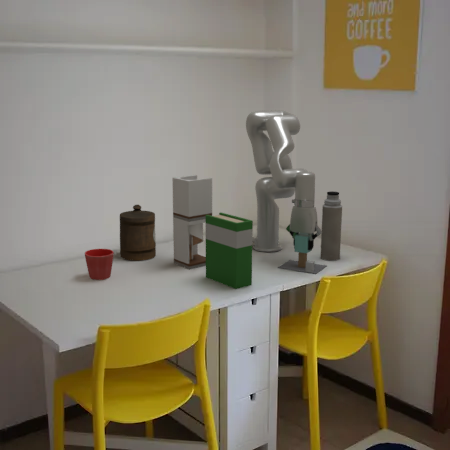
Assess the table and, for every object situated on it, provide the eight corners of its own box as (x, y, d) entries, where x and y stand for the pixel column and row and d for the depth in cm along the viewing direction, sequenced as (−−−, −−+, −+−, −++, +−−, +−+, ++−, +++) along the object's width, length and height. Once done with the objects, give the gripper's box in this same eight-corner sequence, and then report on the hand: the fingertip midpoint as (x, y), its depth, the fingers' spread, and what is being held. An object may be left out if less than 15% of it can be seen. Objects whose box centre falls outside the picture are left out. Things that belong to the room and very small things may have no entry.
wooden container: (163, 255, 265) (162, 204, 260) (136, 263, 254) (134, 210, 249) (140, 249, 275) (138, 200, 270) (113, 256, 264) (111, 205, 259)
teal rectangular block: (294, 251, 247) (294, 235, 246) (299, 248, 251) (300, 232, 250) (306, 253, 245) (307, 236, 243) (311, 250, 249) (312, 234, 248)
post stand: (277, 268, 249) (278, 250, 247) (289, 260, 259) (290, 243, 257) (315, 274, 241) (316, 256, 239) (326, 266, 251) (327, 249, 250)
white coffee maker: (189, 269, 246) (188, 181, 238) (173, 263, 254) (172, 177, 246) (212, 264, 253) (212, 178, 245) (196, 258, 261) (195, 174, 253)
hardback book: (205, 277, 237) (205, 215, 231) (220, 273, 241) (221, 212, 236) (236, 289, 224) (236, 223, 218) (251, 285, 228) (252, 220, 223)
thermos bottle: (320, 255, 267) (322, 190, 261) (339, 255, 266) (342, 190, 260) (320, 260, 259) (323, 193, 253) (340, 260, 259) (343, 193, 252)
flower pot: (120, 275, 239) (119, 250, 236) (101, 283, 229) (100, 257, 227) (99, 271, 244) (98, 246, 242) (79, 278, 235) (78, 253, 232)
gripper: (280, 203, 245) (279, 248, 249) (321, 207, 237) (320, 253, 241) (288, 200, 251) (287, 244, 255) (328, 204, 243) (327, 249, 247)
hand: (303, 248), depth 248 cm, fingers closed on teal rectangular block, 5 cm apart
